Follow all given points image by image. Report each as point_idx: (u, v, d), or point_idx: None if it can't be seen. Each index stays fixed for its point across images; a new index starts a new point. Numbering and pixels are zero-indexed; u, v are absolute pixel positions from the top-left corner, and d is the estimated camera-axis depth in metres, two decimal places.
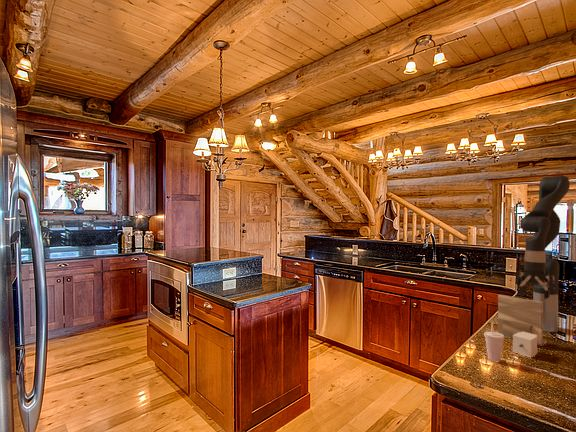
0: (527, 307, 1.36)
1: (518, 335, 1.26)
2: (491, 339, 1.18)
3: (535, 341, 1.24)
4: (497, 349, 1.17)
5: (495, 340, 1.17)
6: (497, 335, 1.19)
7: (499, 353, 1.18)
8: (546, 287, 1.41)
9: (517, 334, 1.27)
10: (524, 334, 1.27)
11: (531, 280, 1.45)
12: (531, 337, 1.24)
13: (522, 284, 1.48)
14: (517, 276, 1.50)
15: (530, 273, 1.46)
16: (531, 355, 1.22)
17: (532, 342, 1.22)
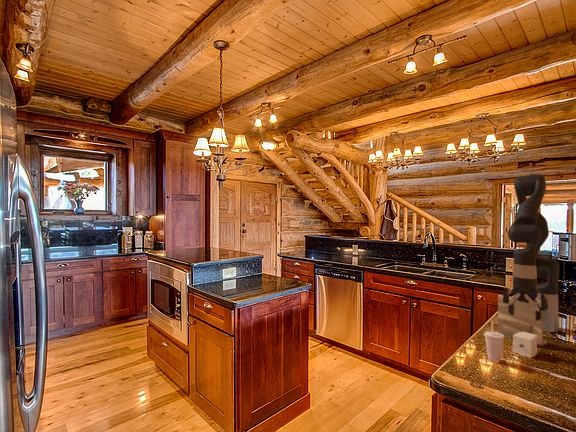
0: (527, 307, 1.36)
1: (518, 335, 1.26)
2: (491, 339, 1.18)
3: (535, 341, 1.24)
4: (497, 349, 1.17)
5: (495, 340, 1.17)
6: (497, 335, 1.19)
7: (499, 353, 1.18)
8: (537, 307, 1.21)
9: (517, 334, 1.27)
10: (524, 334, 1.27)
11: (520, 298, 1.26)
12: (531, 337, 1.24)
13: (510, 303, 1.28)
14: (505, 293, 1.30)
15: (519, 290, 1.26)
16: (531, 355, 1.22)
17: (532, 342, 1.22)
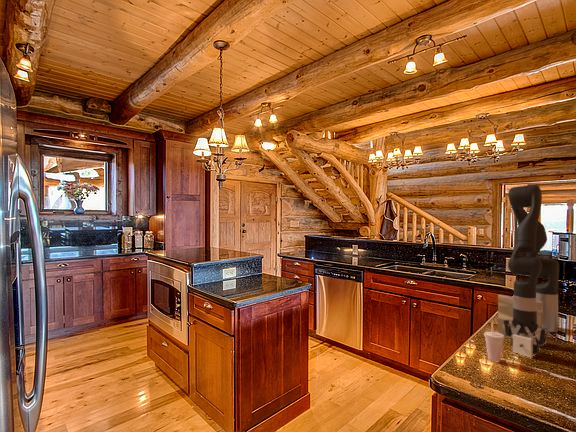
0: None
1: (518, 334, 1.26)
2: (491, 339, 1.18)
3: None
4: (497, 349, 1.17)
5: (495, 340, 1.17)
6: (497, 335, 1.19)
7: (499, 353, 1.18)
8: (535, 341, 1.22)
9: (517, 334, 1.27)
10: None
11: (522, 330, 1.25)
12: None
13: None
14: (506, 326, 1.30)
15: (519, 322, 1.26)
16: (531, 355, 1.22)
17: (532, 342, 1.22)
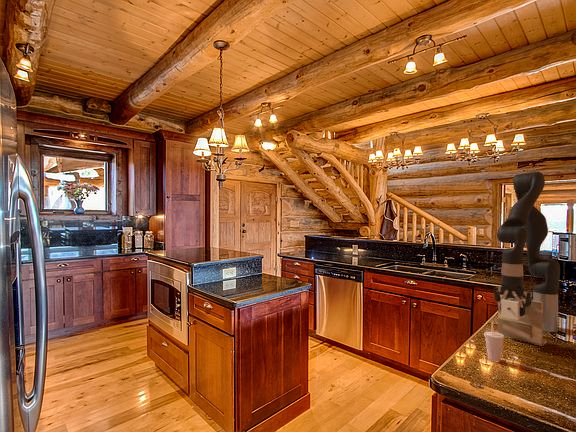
0: (527, 307, 1.36)
1: (506, 299, 1.36)
2: (491, 339, 1.18)
3: None
4: (497, 349, 1.17)
5: (495, 340, 1.17)
6: (497, 335, 1.19)
7: (499, 353, 1.18)
8: (522, 304, 1.31)
9: (505, 299, 1.37)
10: (511, 298, 1.37)
11: (509, 295, 1.35)
12: None
13: None
14: (495, 292, 1.40)
15: (507, 287, 1.36)
16: (518, 316, 1.31)
17: (518, 305, 1.32)
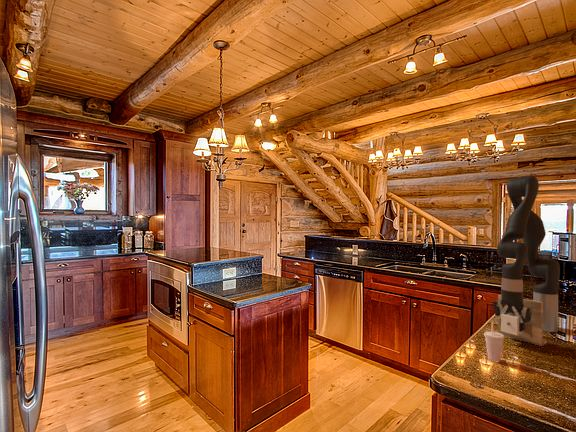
0: None
1: (506, 314, 1.36)
2: (491, 339, 1.18)
3: None
4: (497, 349, 1.17)
5: (495, 340, 1.17)
6: (497, 335, 1.19)
7: (499, 353, 1.18)
8: (521, 319, 1.31)
9: None
10: (511, 313, 1.37)
11: (509, 310, 1.35)
12: None
13: None
14: (495, 306, 1.40)
15: (507, 302, 1.36)
16: (517, 332, 1.31)
17: (518, 320, 1.32)
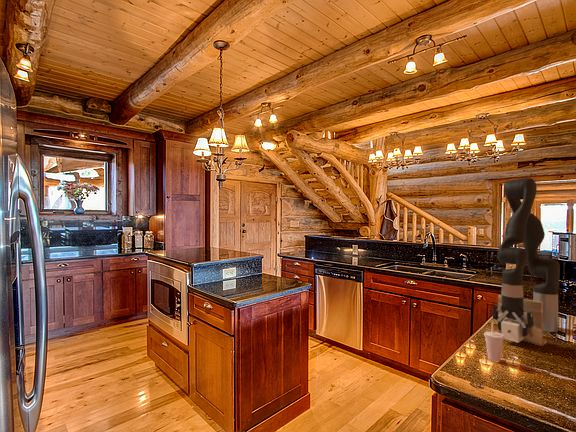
0: (527, 307, 1.36)
1: (506, 321, 1.36)
2: (491, 339, 1.18)
3: None
4: (497, 349, 1.17)
5: (495, 340, 1.17)
6: (497, 335, 1.19)
7: (499, 353, 1.18)
8: (524, 324, 1.31)
9: (505, 320, 1.37)
10: (511, 320, 1.37)
11: (508, 315, 1.35)
12: (518, 323, 1.34)
13: (499, 319, 1.38)
14: (494, 310, 1.40)
15: (507, 308, 1.36)
16: (518, 339, 1.32)
17: (518, 327, 1.32)
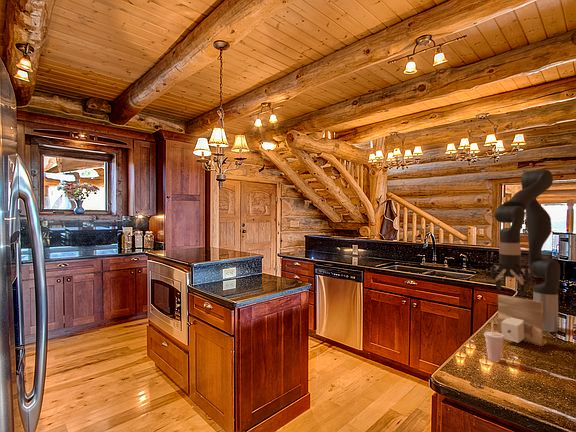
0: (527, 307, 1.36)
1: (506, 321, 1.36)
2: (491, 339, 1.18)
3: (522, 326, 1.34)
4: (497, 349, 1.17)
5: (495, 340, 1.17)
6: (497, 335, 1.19)
7: (499, 353, 1.18)
8: (522, 281, 1.32)
9: (505, 320, 1.37)
10: (511, 320, 1.37)
11: (506, 274, 1.37)
12: (518, 323, 1.34)
13: (497, 278, 1.39)
14: (492, 270, 1.41)
15: (505, 266, 1.37)
16: (518, 339, 1.32)
17: (518, 327, 1.32)
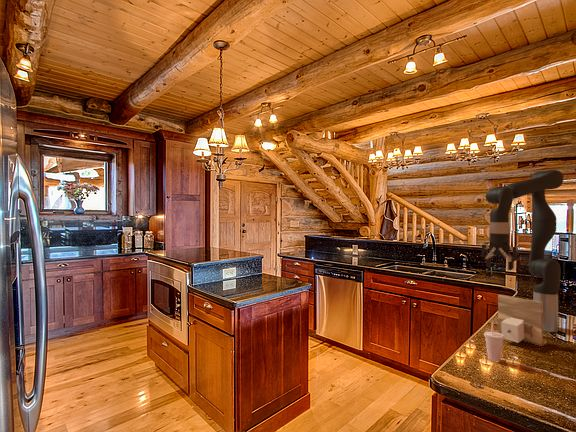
0: (527, 307, 1.36)
1: (506, 321, 1.36)
2: (491, 339, 1.18)
3: (522, 326, 1.34)
4: (497, 349, 1.17)
5: (495, 340, 1.17)
6: (497, 335, 1.19)
7: (499, 353, 1.18)
8: (510, 258, 1.39)
9: (505, 320, 1.37)
10: (511, 320, 1.37)
11: (496, 252, 1.44)
12: (518, 323, 1.34)
13: (487, 257, 1.47)
14: (483, 249, 1.48)
15: (495, 245, 1.44)
16: (518, 339, 1.32)
17: (518, 327, 1.32)
